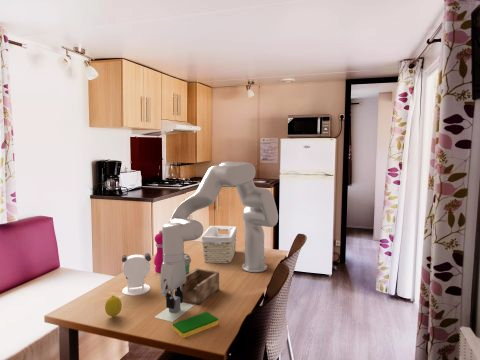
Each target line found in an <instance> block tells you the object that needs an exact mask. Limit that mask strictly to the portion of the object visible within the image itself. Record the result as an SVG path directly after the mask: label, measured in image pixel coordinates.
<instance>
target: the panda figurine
mask: <svg viewBox="0 0 480 360" xmlns="http://www.w3.org/2000/svg"><path fill="white" fill-rule="evenodd" d="M151 260H152V257H151V254H150V252H149V253H148V252H147V253H145V254H131V255H129V256H127V255H126V254H125V255H122V256H121V262H122V273H123V275H124V276H125V278H126V280H127V285H126V286H125V287H124V288H122V291H121V293H122V295H126V296H133V297H134V296H140V295H143V294H146V293H147V292H148V293H149V291H150V290H151V287H150V285H149V284H147V283H145V278H146V276H148V275H149V273H150V272H151V264H150V261H151Z"/></svg>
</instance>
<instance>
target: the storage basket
mask: <svg viewBox="0 0 480 360" xmlns="http://www.w3.org/2000/svg"><path fill="white" fill-rule="evenodd" d="M219 231H222V232H223V231H224V232H227V233H219ZM236 238H237V226H236V225H234V226H232V225H231V226H230V225H209V226H208V228H207V229H206V230H205V231H204V232H203V234H202V235H201V246H202V254H203V255H202V256H203V262H204V263H211V264H212V263H213V264H230V263H231V262H232V260H233V258H234V256H235V253H236V249H237V248H236V242H237V239H236Z"/></svg>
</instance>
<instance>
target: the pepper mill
mask: <svg viewBox="0 0 480 360" xmlns="http://www.w3.org/2000/svg"><path fill="white" fill-rule="evenodd" d="M154 241H155V247H156V253H155V255H154V259H153V264H154V266H155V267H154V270H155V272H156V273H161V267H162V263H163V234H162V229H161V230H158V233H157V234H155V236H154Z"/></svg>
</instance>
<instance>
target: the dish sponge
mask: <svg viewBox="0 0 480 360" xmlns="http://www.w3.org/2000/svg"><path fill="white" fill-rule="evenodd" d="M218 325H219V319H218V317H217V316H215V315H213V314H211V313H210V312H209V311H205V312H202V313H199V314H196V315H194V316H191V317H188V318H185V319H182V320H179V321H177V322H174V323H173V322H172V330H173V332H175V333H176V334H177V335H178V336H180V337H181V338H182V339H185V338H187V337H190V336H193V335H195V334H197V333H200V332H202V331H205V330H207V329H208V330H209V329H210V328H213V327H215V326H218Z"/></svg>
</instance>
